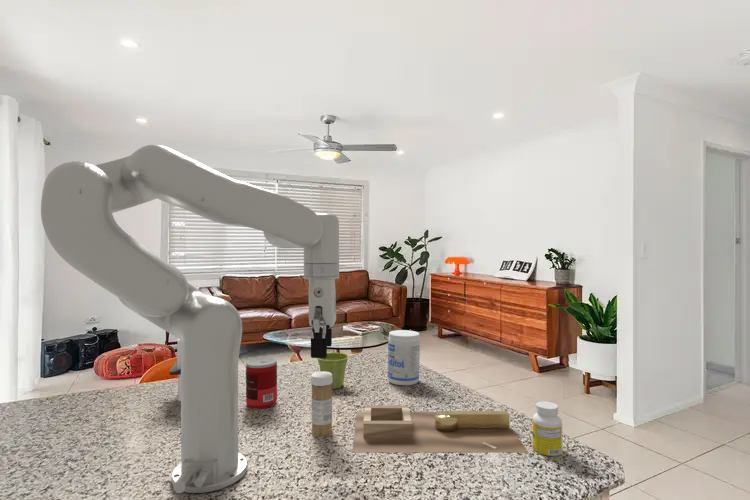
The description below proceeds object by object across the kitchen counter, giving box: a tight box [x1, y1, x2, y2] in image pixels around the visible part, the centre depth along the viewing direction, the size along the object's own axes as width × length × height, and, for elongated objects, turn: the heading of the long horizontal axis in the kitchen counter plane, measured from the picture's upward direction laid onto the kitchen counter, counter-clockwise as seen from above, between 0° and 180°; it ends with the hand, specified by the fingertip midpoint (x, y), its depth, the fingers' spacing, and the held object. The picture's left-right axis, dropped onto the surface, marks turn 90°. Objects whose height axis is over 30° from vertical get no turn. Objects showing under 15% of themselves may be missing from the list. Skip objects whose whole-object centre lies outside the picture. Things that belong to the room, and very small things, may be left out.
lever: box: [435, 410, 510, 431], centre depth 92 cm, size 5×16×3 cm, turn 90°
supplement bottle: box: [532, 400, 564, 458], centre depth 82 cm, size 5×5×10 cm
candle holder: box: [169, 338, 184, 402], centre depth 116 cm, size 25×24×16 cm
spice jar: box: [310, 371, 333, 437], centre depth 90 cm, size 5×5×14 cm
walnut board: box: [351, 411, 529, 453], centre depth 91 cm, size 20×34×1 cm, turn 90°
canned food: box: [245, 357, 278, 410], centre depth 109 cm, size 8×8×11 cm
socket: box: [363, 404, 412, 438], centre depth 92 cm, size 10×10×3 cm
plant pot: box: [316, 352, 350, 390], centre depth 123 cm, size 9×9×9 cm
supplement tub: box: [387, 329, 421, 386], centre depth 127 cm, size 10×10×15 cm
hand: (321, 351), depth 90 cm, fingers open, 9 cm apart
